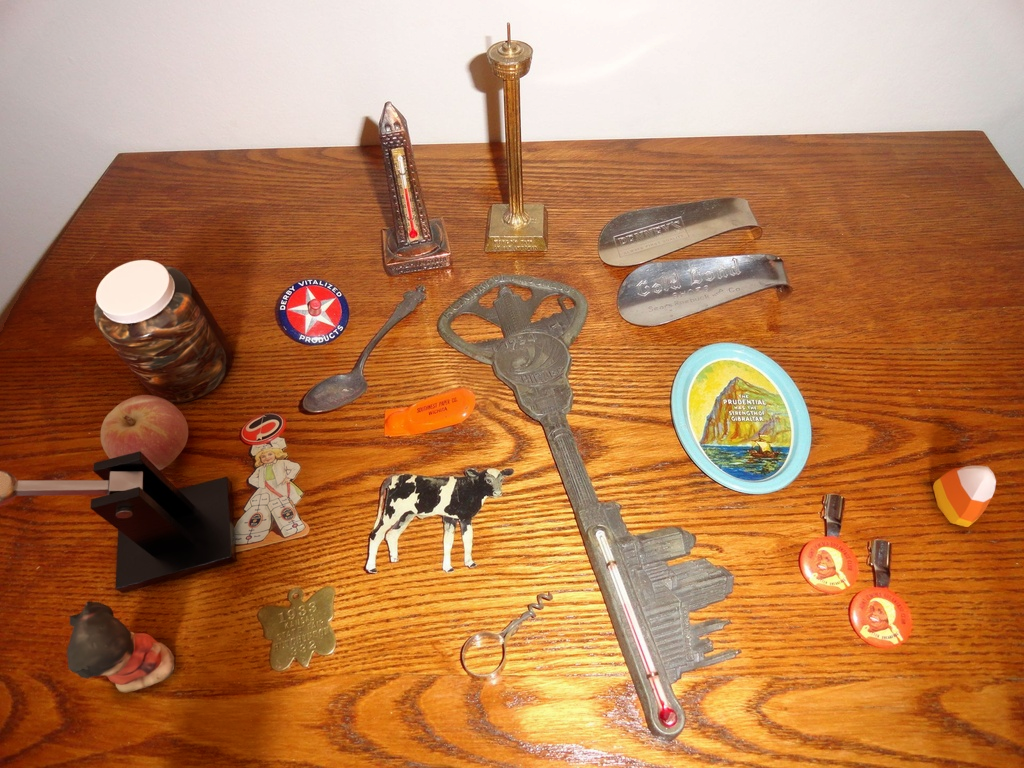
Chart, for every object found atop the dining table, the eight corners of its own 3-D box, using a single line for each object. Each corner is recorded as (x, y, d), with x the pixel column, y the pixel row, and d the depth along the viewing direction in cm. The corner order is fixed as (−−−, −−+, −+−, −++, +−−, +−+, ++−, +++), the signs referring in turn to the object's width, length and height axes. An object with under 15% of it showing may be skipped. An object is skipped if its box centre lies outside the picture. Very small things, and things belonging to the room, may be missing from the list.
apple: (213, 437, 84) (185, 400, 77) (162, 497, 80) (127, 464, 73) (160, 410, 87) (128, 373, 80) (107, 467, 82) (69, 433, 76)
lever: (-27, 513, 61) (-29, 495, 59) (-22, 482, 63) (-24, 463, 61) (139, 509, 68) (142, 493, 66) (140, 481, 70) (143, 464, 68)
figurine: (101, 673, 69) (27, 641, 59) (146, 625, 71) (82, 587, 62) (141, 712, 67) (71, 686, 57) (187, 661, 69) (127, 628, 59)
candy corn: (924, 482, 77) (959, 446, 70) (950, 479, 77) (988, 443, 70) (948, 532, 73) (988, 500, 67) (976, 529, 73) (1018, 497, 67)
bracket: (122, 593, 73) (44, 544, 62) (125, 510, 79) (54, 450, 68) (236, 561, 75) (180, 508, 64) (231, 481, 80) (180, 419, 69)
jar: (253, 349, 91) (207, 269, 79) (190, 416, 86) (130, 341, 74) (187, 318, 95) (134, 237, 83) (123, 380, 89) (55, 303, 77)
